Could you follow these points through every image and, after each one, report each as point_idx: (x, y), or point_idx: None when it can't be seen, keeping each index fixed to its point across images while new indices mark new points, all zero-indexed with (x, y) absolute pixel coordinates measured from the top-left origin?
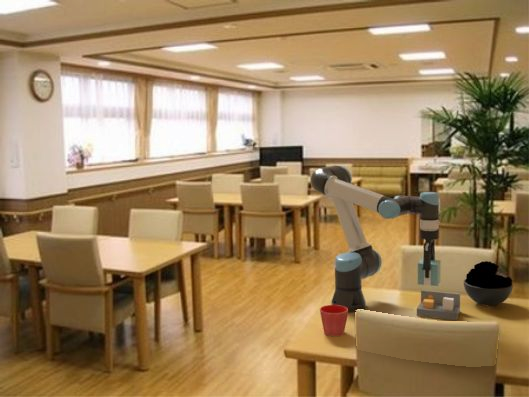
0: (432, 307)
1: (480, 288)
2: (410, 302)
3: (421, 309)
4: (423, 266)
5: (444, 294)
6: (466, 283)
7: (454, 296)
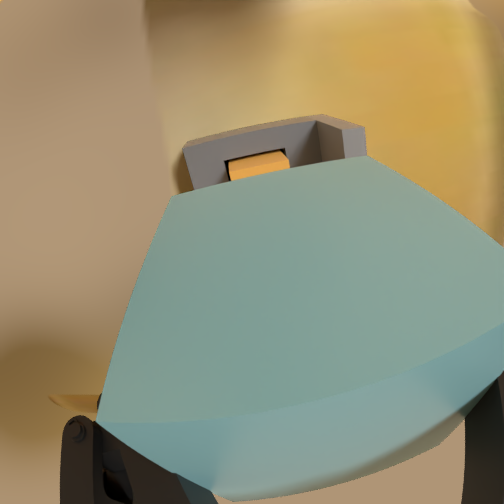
0: None
1: None
2: (363, 49)
3: (189, 172)
4: (64, 453)
5: None
6: None
7: None
